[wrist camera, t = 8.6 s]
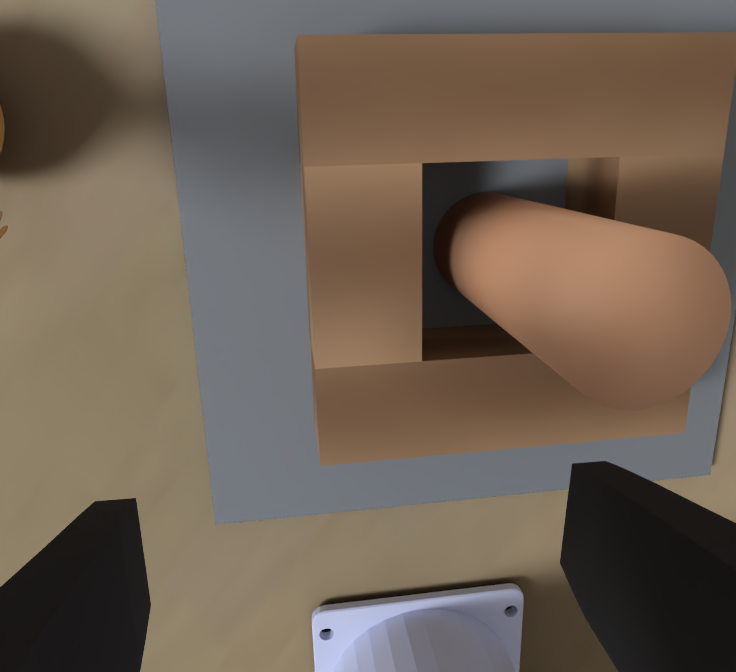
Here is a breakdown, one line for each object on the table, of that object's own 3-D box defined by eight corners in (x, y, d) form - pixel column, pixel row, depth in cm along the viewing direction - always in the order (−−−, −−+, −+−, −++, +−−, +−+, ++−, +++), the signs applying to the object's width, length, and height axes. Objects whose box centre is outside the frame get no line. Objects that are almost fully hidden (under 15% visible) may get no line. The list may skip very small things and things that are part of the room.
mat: (701, 468, 24) (710, 474, 23) (216, 516, 21) (215, 524, 21) (784, -81, 18) (798, -87, 18) (148, -92, 16) (144, -100, 16)
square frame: (630, 394, 22) (684, 433, 19) (314, 420, 20) (320, 465, 17) (669, 49, 18) (740, 32, 16) (293, 52, 17) (297, 34, 14)
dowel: (533, 289, 20) (722, 397, 11) (435, 300, 20) (556, 421, 11) (532, 187, 19) (739, 223, 10) (430, 197, 19) (558, 243, 10)
